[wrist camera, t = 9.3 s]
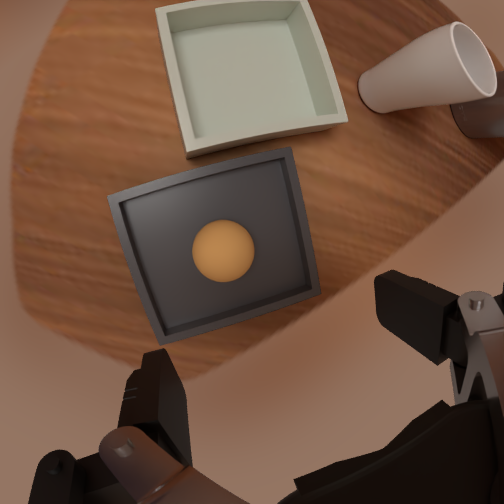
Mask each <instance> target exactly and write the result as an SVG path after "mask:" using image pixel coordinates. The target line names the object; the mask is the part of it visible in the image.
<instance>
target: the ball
mask: <svg viewBox="0 0 504 504" xmlns="http://www.w3.org/2000/svg"><path fill="white" fill-rule="evenodd" d="M254 252H255V251H254V243H253V240H252V238H251V236H250V234H249V233H248V231H247V230H246V229H245V228H244V227H243V226H241V225H240V224H238V223H236V222H233V221H230V220H217V221H213V222H211V223H209V224H207V225H205V226H204V227H203V228H202V229H201V230H200V231H199V232H198V234H197V235H196V237H195V239H194V242H193V247H192V255H193V260H194V263H195V265H196V267H197V268H198V270H199V271H200V272H201V273H202V274H203V275H204V276H205V277H207V278H209V279H211V280H213V281H217V282H230V281H233V280H236V279H238V278H240V277H241V276H243V275H244V274H245V273H246V272H247V271H248V269H249V268H250V266H251V264H252V262H253V259H254Z"/></svg>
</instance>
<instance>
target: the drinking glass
mask: <svg viewBox="0 0 504 504" xmlns="http://www.w3.org/2000/svg"><path fill="white" fill-rule="evenodd" d="M358 89H359V93H360V96H361V98H362V100H363V101H364V103H365V104H366V105H367V106H368V107H369V108H370V109H372V110H373V111H375V112H378V113H389V112H392V111H396V110H402V109H409V108H417V107H426V106H436V105H446V104H456V103H463V102H469V101H474V100H479V99H483V98H487V97H492V96H493V95H494V94H495V92H496V89H497V77H496V72H495V68H494V65H493V62H492V60H491V57H490V55H489V53H488V51H487V49H486V47H485V46H484V44H483V43H482V41H481V40H480V38H479V37H478V36H477V35H476V34H475V33H474V31H472V30H471V29H470V28H469V27H468V26H466V25H465V24H463V23H461V22H453V23H450V24H447V25H444V26H441V27H439V28H436V29H434V30H432V31H430V32H427V33H425V34H424V35H422V36H420V37H418V38H417V39H415V40H413V41H412V42H410V43H409V44H407V45H406V46H404V47H403V48H401V49H400V50H398V51H397V52H395V53H394V54H392V55H391V56H389V57H388V58H386V59H385V60H383V61H382V62H380V63H379V64H377V65H376V66H374V67H373V68H371V69H369V70H367V71H365V72H364V73H363V74H362V75H361V76H360V78H359V82H358Z"/></svg>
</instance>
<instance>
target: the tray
mask: <svg viewBox="0 0 504 504" xmlns="http://www.w3.org/2000/svg"><path fill="white" fill-rule="evenodd" d="M107 198H108V202H109V206H110V209H111V213H112V216H113V220H114V223H115V226H116V230H117V233H118V236H119V239H120V243H121V246H122V249H123V252H124V255H125V258H126V261H127V264H128V266H129V269H130V272H131V275H132V278H133V280H134V283H135V286H136V289H137V291H138V294H139V296H140V299H141V302H142V304H143V307H144V309H145V312H146V314H147V317H148V319H149V321H150V324H151V326H152V329H153V331H154V333H155V336H156V338H157V340H158V342H159V345H164V344H168V343H171V342H175V341H179V340H182V339H186V338H189V337H193V336H196V335H199V334H203V333H206V332H209V331H213V330H216V329H219V328H223V327H226V326H229V325H232V324H235V323H238V322H242V321H245V320H248V319H251V318H254V317H257V316H260V315H263V314H266V313H269V312H272V311H275V310H278V309H280V308H283V307H286V306H289V305H292V304H295V303H298V302H300V301H303V300H306V299H309V298H311V297H314V296H317V295H320V294H321V289H320V283H319V277H318V272H317V266H316V261H315V255H314V250H313V245H312V240H311V235H310V230H309V225H308V220H307V215H306V210H305V205H304V201H303V196H302V192H301V187H300V183H299V178H298V174H297V170H296V166H295V161H294V157H293V153H292V149H291V147H286V148H281V149H276V150H271V151H266V152H261V153H257V154H252V155H248V156H243V157H239V158H235V159H231V160H227V161H223V162H219V163H215V164H211V165H207V166H203V167H199V168H196V169H192V170H188V171H185V172H181V173H178V174H174V175H171V176H168V177H164V178H161V179H158V180H154V181H151V182H148V183H145V184H142V185H139V186H136V187H133V188H130V189H127V190H124V191H121V192H118V193H115V194H112V195H109V196H107ZM217 220H230V221H233V222H236V223H238V224H240V225H241V226H243V227H244V228H245V229H246V230H247V231H248V233H249V234H250V236H251V238H252V240H253V243H254V251H255V252H254V259H253V262H252V264H251V266H250V268H249V269H248V271H247V272H246V273H245V274H244V275H243V276H241V277H240V278H238V279H236V280H233V281H230V282H217V281H213V280H211V279H209V278H207V277H205V276H204V275H203V274H202V273H201V272H200V271H199V270H198V268H197V267H196V265H195V263H194V260H193V255H192V247H193V242H194V239H195V237H196V235H197V234H198V232H199V231H200V230H201V229H202V228H203V227H204V226H205V225H207V224H209V223H211V222H213V221H217Z"/></svg>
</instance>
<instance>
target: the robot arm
mask: <svg viewBox="0 0 504 504" xmlns="http://www.w3.org/2000/svg"><path fill="white" fill-rule="evenodd" d="M496 77H497V89H496V92H495V94H494V95H493V96H492V97H487V98H483V99H479V100H474V101H469V102H463V103H456V104H451V109H452V112H453V115H454V118H455V120H456V122H457V124H458V126H459V128H460V129H461V131H462V132H463V133H464V134H465V135H466V136H467V137H469V138H493V137H504V71H500V72H496ZM374 288H375V300H376V314H377V317H378V320H379V322H380V323H381V325H382V326H383V327H385V328H386V329H387V330H389V331H390V332H392V333H393V334H394V335H396V336H397V337H399V338H400V339H401V340H403V341H404V342H406V343H407V344H408V345H410V346H411V347H413V348H414V349H415V350H417V351H418V352H419V353H421V354H422V355H423V356H425V357H426V358H428V359H429V360H430V361H432V362H433V363H434V364H436V365H437V366H438V365H439V364H440V363H442V362H443V361H445V360H446V359H448V358H450V359H451V362H450V372H451V378H452V385H453V391H454V399H455V405H454V406H451V407H450V406H449V405H448V404H446V403H445V402H444V401H443V400H441V401H440V402H438V403H437V404H435V405H434V406H433V407H431V408H430V409H428V410H427V411H426V412H424V413H423V414H421V415H420V416H418V417H417V418H415V419H414V420H412V421H411V422H410V423H409V425H407V426H406V427H405V428H404V429H403V430H402V432H400V433H399V434H398V435H397V436H396V437H395V438H394V439H393V440H392V441H391V442H390V443H389V444H388V445H387V446H385V447H384V448H383V449H381V450H378V451H375V452H372V453H368V454H365V455H361V456H358V457H355V458H351V459H347V460H343V461H339V462H335V463H333V464H331V465H328V466H326V467H324V468H321V469H319V470H317V471H314V472H311V473H309V474H306V475H304V476H301V477H298V478H296V479H294V482H295V485H296V488H297V490H296V491H294V492H292V493H291V494H289V495H288V496H286V497H285V498H284V499H282V500H281V501H280V502H279V503H278V504H504V283H503V292H502V294H500V295H497V296H495V297H492V296H491V295H490V294H487V293H485V292H481V291H471V292H467V293H464V294H463V295H461V296H458V295H456V294H453V293H451V292H449V291H447V290H444V289H442V288H440V287H436V286H435V285H433V284H431V283H429V284H428V282H426V281H423V280H422V279H419V278H414V277H409V276H407V275H405V274H402V273H400V272H398V271H395V270H390V271H387V272H385V273H383V274H380V275H378V276H376V277H375V280H374ZM28 504H250V503H248V502H246V501H244V500H243V499H241V498H239V497H237V496H236V495H234V494H233V493H231V492H229V491H228V490H226V489H224V488H223V487H221V486H220V485H218V484H216V483H215V482H214V481H212V480H211V479H209V478H208V477H206V476H205V475H203V474H202V473H200V472H199V471H197V470H196V469H195V468H193V465H192V456H191V446H190V436H189V425H188V414H187V399H186V394H185V390H184V387H183V384H182V382H181V380H180V378H179V376H178V374H177V372H176V370H175V368H174V366H173V363H172V361H171V359H170V357H169V355H168V353H167V351H166V350H165V349H164V348H163V349H159V350H155V351H151V352H148V353H144V355H143V359H142V365H141V369H137V370H134V371H133V373H132V374H131V375H130V377H129V378H128V380H127V383H126V388H125V392H124V396H123V401H122V406H121V411H120V416H119V421H118V427H117V429H114V430H112V431H111V432H109V433H108V434H107V435H106V436H105V437H104V438H103V439H102V441H101V443H100V445H99V452H98V453H95V454H93V455H90V456H87V457H84V458H81V459H78V460H76V459H75V458H74V457H73V456H72V454H71V453H69V452H68V451H65V450H55V451H52V452H50V453H48V454H47V455H45V456H44V457H43V458H42V459H41V460H40V462H39V464H38V466H37V469H36V473H35V477H34V481H33V485H32V489H31V493H30V497H29V502H28Z"/></svg>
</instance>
